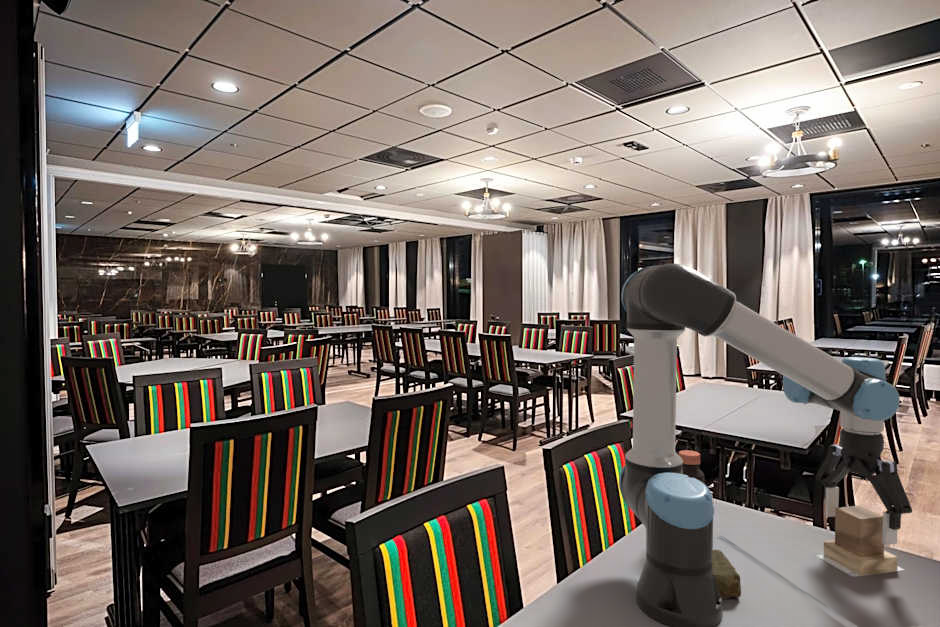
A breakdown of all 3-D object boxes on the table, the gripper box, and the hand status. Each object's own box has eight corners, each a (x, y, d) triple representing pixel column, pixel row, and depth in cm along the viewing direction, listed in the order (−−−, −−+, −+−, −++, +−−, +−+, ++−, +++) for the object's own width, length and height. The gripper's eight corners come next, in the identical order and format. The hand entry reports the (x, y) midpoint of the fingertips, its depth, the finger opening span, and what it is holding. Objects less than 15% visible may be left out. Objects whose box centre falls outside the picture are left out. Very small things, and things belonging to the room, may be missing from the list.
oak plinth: (860, 575, 109) (861, 561, 109) (823, 554, 118) (823, 541, 118) (897, 571, 111) (897, 556, 111) (857, 550, 119) (858, 537, 119)
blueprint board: (852, 581, 109) (852, 576, 108) (815, 560, 117) (815, 555, 117) (905, 574, 111) (905, 569, 111) (865, 554, 120) (865, 549, 120)
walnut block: (860, 557, 110) (860, 519, 110) (834, 544, 116) (835, 507, 116) (883, 554, 112) (884, 516, 111) (857, 541, 118) (858, 505, 117)
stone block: (720, 571, 113) (721, 548, 113) (743, 602, 102) (743, 576, 102) (692, 569, 114) (692, 547, 114) (711, 600, 102) (711, 575, 102)
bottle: (708, 533, 131) (709, 453, 130) (696, 542, 126) (697, 459, 125) (681, 525, 136) (682, 447, 135) (669, 533, 131) (669, 452, 130)
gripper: (937, 445, 102) (934, 555, 102) (826, 416, 126) (824, 505, 127) (905, 447, 100) (902, 558, 101) (799, 418, 125) (797, 507, 125)
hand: (859, 529), depth 114 cm, fingers open, 13 cm apart
